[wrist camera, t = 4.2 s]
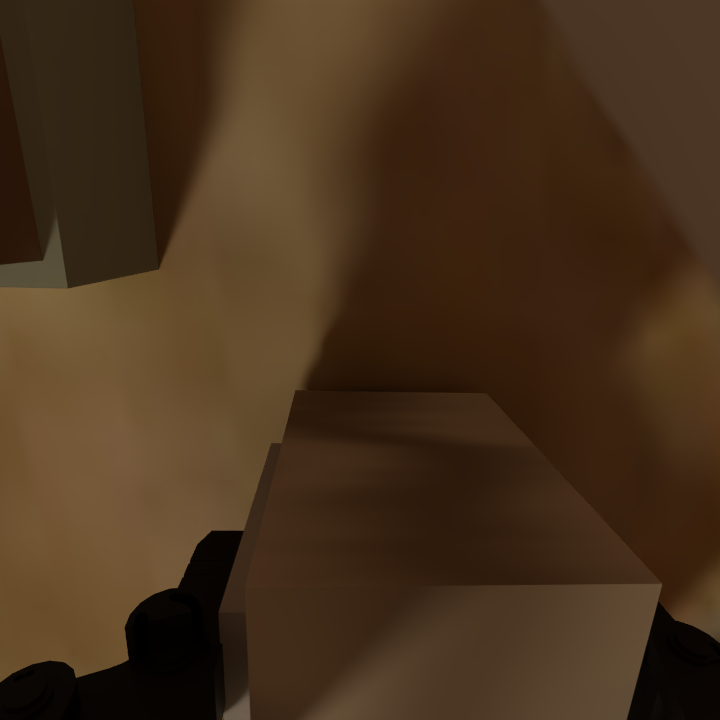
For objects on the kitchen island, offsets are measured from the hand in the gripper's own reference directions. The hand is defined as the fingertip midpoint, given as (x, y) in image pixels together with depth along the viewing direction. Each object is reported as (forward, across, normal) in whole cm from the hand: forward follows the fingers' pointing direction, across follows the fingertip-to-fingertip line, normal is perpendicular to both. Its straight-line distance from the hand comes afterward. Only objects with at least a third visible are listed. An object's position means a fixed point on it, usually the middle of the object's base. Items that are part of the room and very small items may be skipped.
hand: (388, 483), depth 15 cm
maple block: (0, 0, 0) cm, 0 cm away
